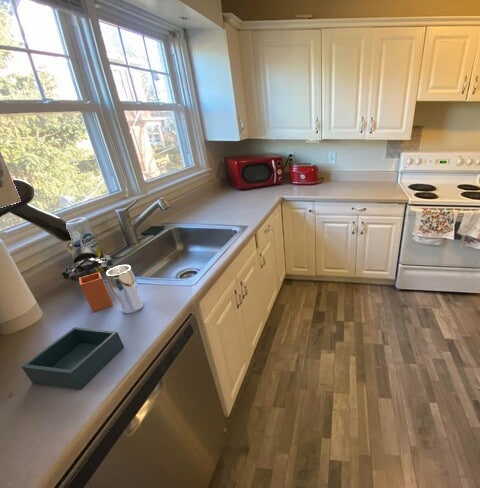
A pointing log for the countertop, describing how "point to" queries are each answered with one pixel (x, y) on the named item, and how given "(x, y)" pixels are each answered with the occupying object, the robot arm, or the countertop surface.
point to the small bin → (95, 291)
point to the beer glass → (125, 287)
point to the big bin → (74, 358)
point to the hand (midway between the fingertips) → (89, 273)
